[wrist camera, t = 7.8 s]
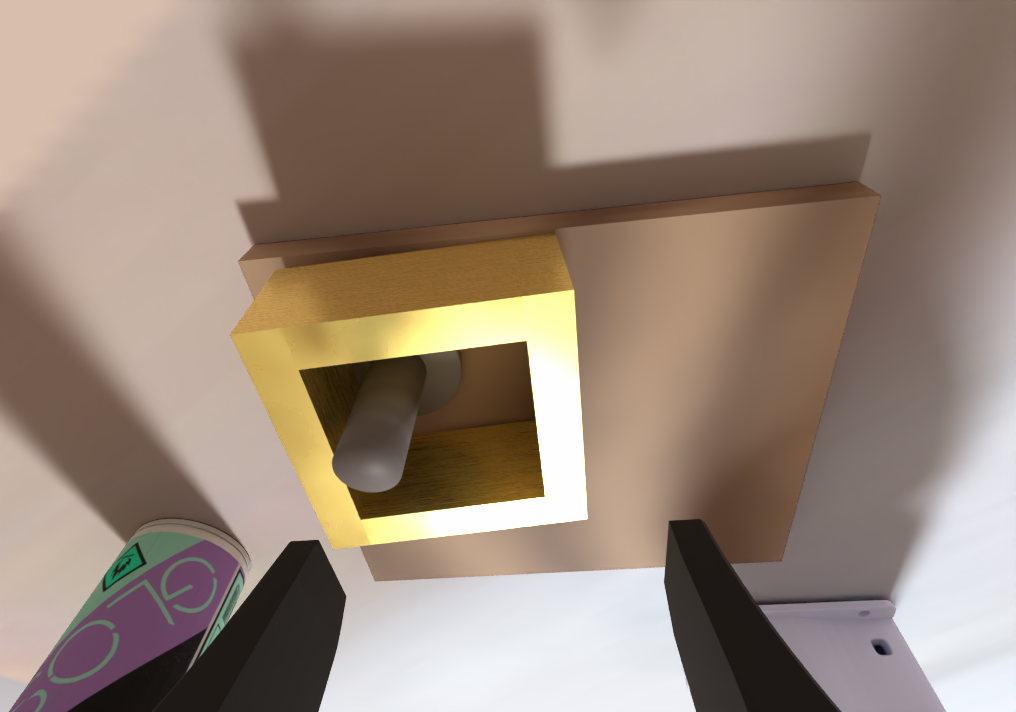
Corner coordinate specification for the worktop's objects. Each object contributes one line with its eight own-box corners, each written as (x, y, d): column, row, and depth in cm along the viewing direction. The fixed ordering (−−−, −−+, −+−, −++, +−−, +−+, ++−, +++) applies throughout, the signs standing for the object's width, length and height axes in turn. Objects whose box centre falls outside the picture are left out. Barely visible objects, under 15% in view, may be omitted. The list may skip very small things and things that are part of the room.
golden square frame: (555, 232, 15) (574, 290, 12) (570, 441, 20) (587, 518, 17) (275, 269, 16) (230, 334, 13) (353, 467, 20) (333, 549, 17)
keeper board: (858, 181, 16) (1014, 276, 11) (771, 537, 25) (833, 678, 20) (254, 245, 17) (144, 353, 12) (380, 558, 26) (347, 694, 21)
